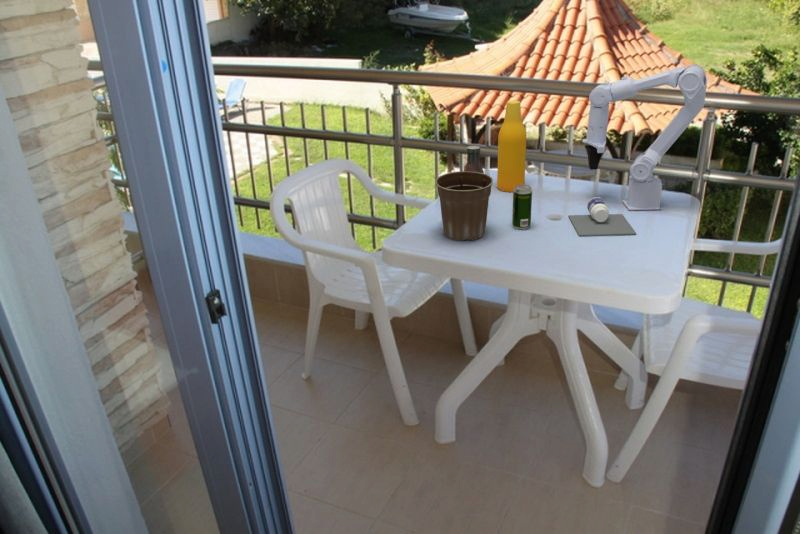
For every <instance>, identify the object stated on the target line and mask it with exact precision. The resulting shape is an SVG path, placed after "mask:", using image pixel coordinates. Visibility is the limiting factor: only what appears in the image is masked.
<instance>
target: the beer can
mask: <svg viewBox="0 0 800 534" xmlns="http://www.w3.org/2000/svg"><path fill="white" fill-rule="evenodd" d="M512 193H513V194H512V221H511V224H512V227H513V228H514V229H516V230H521V229H522V230H523V229H524V230H527V229H529V228H531V225H532V205H533V190H532V186H530V185H527V184H525V185H517V186H515V187H514V190H513V192H512Z"/></svg>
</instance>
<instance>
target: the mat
mask: <svg viewBox="0 0 800 534" xmlns="http://www.w3.org/2000/svg"><path fill="white" fill-rule="evenodd" d="M568 219H569V220H570V222H571V225H572V226H573V229H574V230H575V232H576V233H577V236H578V237H613V236H614V237H615V236H616V237H618V236H637V232H636V231H635V229H634V228H633V227H632V225H631V224H630V222H628V220H627V219H626V217H625V215H624V214H622V213H611V214H610V213H609V214H608V218H607V220H605V221H604V222H598V221H596V220H594V219H593V218H592V217H591V215H590V214H572V215H570V214H569V215H568Z"/></svg>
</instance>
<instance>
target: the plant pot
mask: <svg viewBox="0 0 800 534" xmlns="http://www.w3.org/2000/svg"><path fill="white" fill-rule="evenodd" d="M434 180H435V181H434V184H435V186H436V188H437V189H436V190H437V196H438V198H439V202H440V203H439V206H440V211H441V212H440V213H441V222H442V230H443V231H442V232H443V235H444V236H445V237H446V238H448V239H450V240H452V241H453V240H454V241H461V242H464V241H466V240H469V241H474V240H475V241H476V240H479V239H481V238H483V237H484V235H485V234H486V229H487V221H488V220H487V219H488V208H489V200H490V196H491V192H492V185H493V184H494V179H493V177H492V176H490V175H489V174H487V173H484V174H483V173H479V172H470V171H464V170H462V171H460V170H459V171H452V172H447V173H444V174H442V175H440V176H437V178H436V179H434Z"/></svg>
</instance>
